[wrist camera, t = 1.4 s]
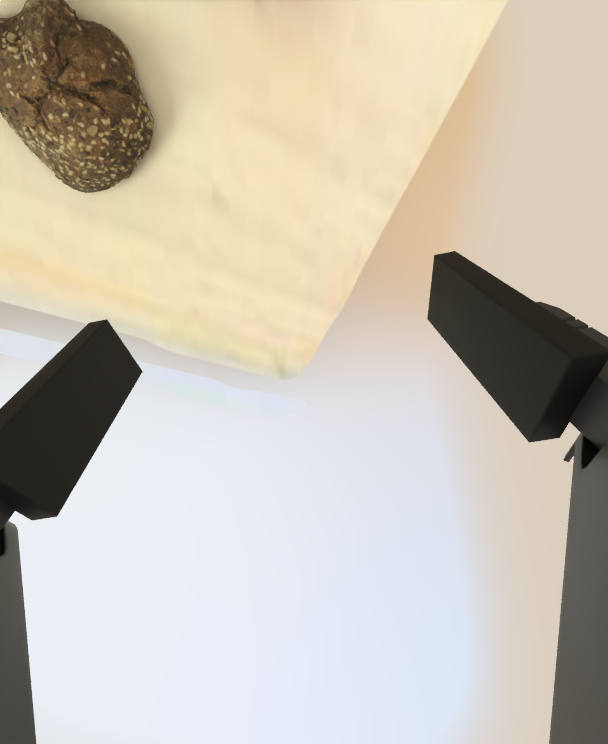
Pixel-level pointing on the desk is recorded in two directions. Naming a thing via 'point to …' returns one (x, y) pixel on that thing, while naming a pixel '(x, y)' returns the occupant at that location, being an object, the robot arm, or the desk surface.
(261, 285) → the desk surface
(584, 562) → the robot arm
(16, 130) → the bread roll
